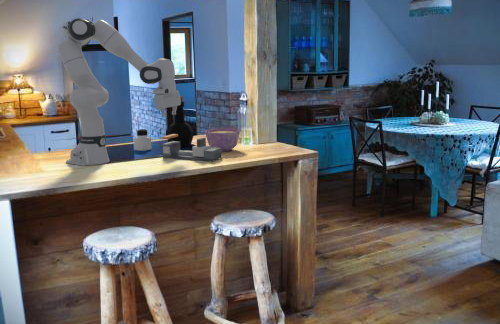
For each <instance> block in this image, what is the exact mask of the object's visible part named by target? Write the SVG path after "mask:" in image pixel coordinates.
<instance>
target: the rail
mask: <svg viewBox="0 0 500 324" xmlns="http://www.w3.org/2000/svg"><path fill="white" fill-rule="evenodd" d="M161 146H162V158H163V159H175V160H176V159H177V160H186V161H187V160H188V161H199V162H200V161H201V162H212V163H213V162H215V161H218V160H221V159H222V152H221V148H216V147H212V148H209V149H207V150H204V157H198V156H193V150H183V149H182V150H181V148H182V147H180V142H178V141H171V142H168V141H167V142H164V143H162V145H161Z"/></svg>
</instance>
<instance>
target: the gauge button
mask: <svg viewBox="0 0 500 324" xmlns="http://www.w3.org/2000/svg"><path fill="white" fill-rule="evenodd" d="M174 137H178V134H171V135H167V136H166V135H164V136H162V138H161V139H162V140H168V139H170V138H174Z"/></svg>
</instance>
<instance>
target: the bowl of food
mask: <svg viewBox="0 0 500 324" xmlns="http://www.w3.org/2000/svg"><path fill="white" fill-rule="evenodd" d="M204 133H205V135H206V136H205V138H206V140H207V141H206V142H207V143H208V144H207V145H210V146H211V148H212V147H216V148H221V153H224V152H230V151H231V150H233V149H234V148H235V147H236V146H237V145H238V141H239V138H240V133H241V130H240V129H238V128H231V127H228V128H227V127H225V128H224V127H222V128H221V127H220V128H219V127H218V128H217V127H216V128H210V129H206V130H205V131H204Z"/></svg>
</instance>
